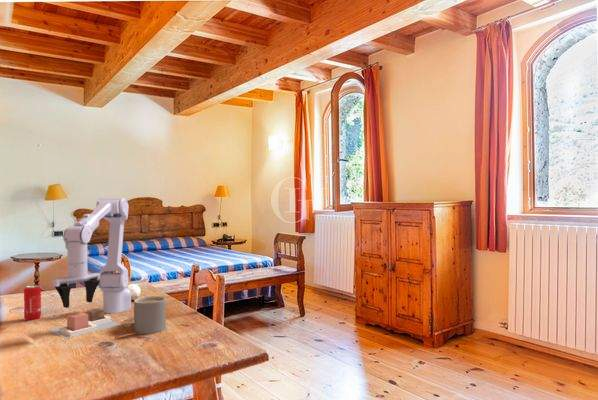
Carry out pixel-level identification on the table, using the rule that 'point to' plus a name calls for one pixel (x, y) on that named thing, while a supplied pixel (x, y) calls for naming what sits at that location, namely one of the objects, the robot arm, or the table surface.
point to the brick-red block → (77, 321)
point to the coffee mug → (149, 314)
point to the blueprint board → (92, 327)
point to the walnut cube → (95, 314)
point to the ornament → (134, 291)
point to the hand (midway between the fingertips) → (78, 304)
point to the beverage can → (32, 302)
